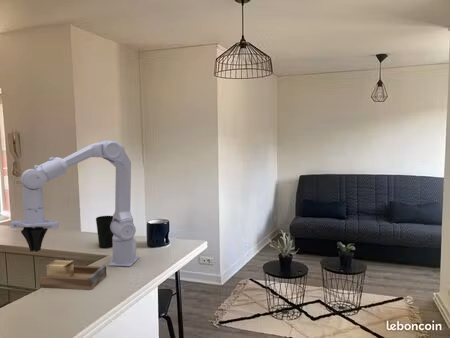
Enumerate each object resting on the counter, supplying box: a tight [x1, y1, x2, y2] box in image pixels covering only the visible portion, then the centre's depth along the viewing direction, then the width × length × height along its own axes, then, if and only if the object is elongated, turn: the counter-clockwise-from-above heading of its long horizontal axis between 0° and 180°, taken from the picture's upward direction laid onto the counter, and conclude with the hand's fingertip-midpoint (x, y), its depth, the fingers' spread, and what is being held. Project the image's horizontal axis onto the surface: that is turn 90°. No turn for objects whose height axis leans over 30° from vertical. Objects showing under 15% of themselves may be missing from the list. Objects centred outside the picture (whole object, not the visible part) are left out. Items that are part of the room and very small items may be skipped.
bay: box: [39, 264, 107, 291], centre depth 116 cm, size 11×16×4 cm
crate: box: [45, 259, 75, 277], centre depth 116 cm, size 5×6×5 cm
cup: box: [95, 215, 114, 249], centre depth 152 cm, size 8×8×12 cm
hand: (35, 250), depth 117 cm, fingers closed
